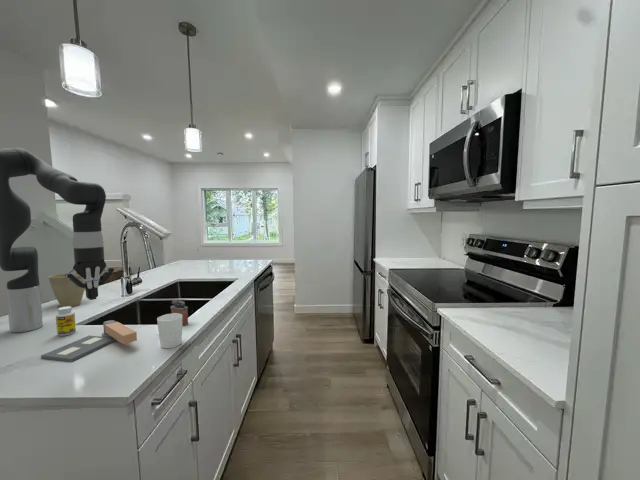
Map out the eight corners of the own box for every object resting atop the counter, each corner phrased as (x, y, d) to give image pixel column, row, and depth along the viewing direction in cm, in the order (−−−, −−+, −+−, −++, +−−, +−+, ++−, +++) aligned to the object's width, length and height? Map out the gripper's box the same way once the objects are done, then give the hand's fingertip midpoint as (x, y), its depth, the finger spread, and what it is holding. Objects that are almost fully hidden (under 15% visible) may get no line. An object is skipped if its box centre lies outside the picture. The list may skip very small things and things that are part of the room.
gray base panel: (41, 358, 94) (41, 354, 94) (102, 332, 115) (102, 329, 115) (71, 361, 92) (71, 358, 92) (128, 334, 113) (128, 331, 113)
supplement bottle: (55, 337, 111) (53, 311, 110) (58, 332, 115) (56, 307, 114) (75, 334, 114) (73, 308, 113) (76, 329, 118) (75, 304, 117)
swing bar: (101, 332, 111) (101, 322, 111) (114, 329, 114) (113, 319, 114) (124, 347, 99) (123, 335, 98) (137, 343, 102) (136, 331, 101)
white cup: (164, 340, 108) (163, 313, 107) (186, 339, 108) (185, 312, 108) (154, 350, 100) (152, 321, 99) (178, 349, 101) (177, 320, 100)
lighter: (190, 323, 124) (189, 300, 123) (184, 326, 121) (183, 302, 120) (175, 321, 127) (174, 298, 126) (169, 324, 123) (168, 301, 123)
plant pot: (95, 300, 159) (93, 271, 157) (74, 309, 144) (72, 277, 142) (67, 301, 158) (64, 272, 156) (42, 310, 143) (39, 277, 142)
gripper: (66, 248, 86) (70, 306, 87) (117, 244, 97) (120, 296, 98) (57, 247, 90) (62, 302, 91) (107, 243, 101) (110, 293, 102)
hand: (92, 299), depth 95 cm, fingers closed
